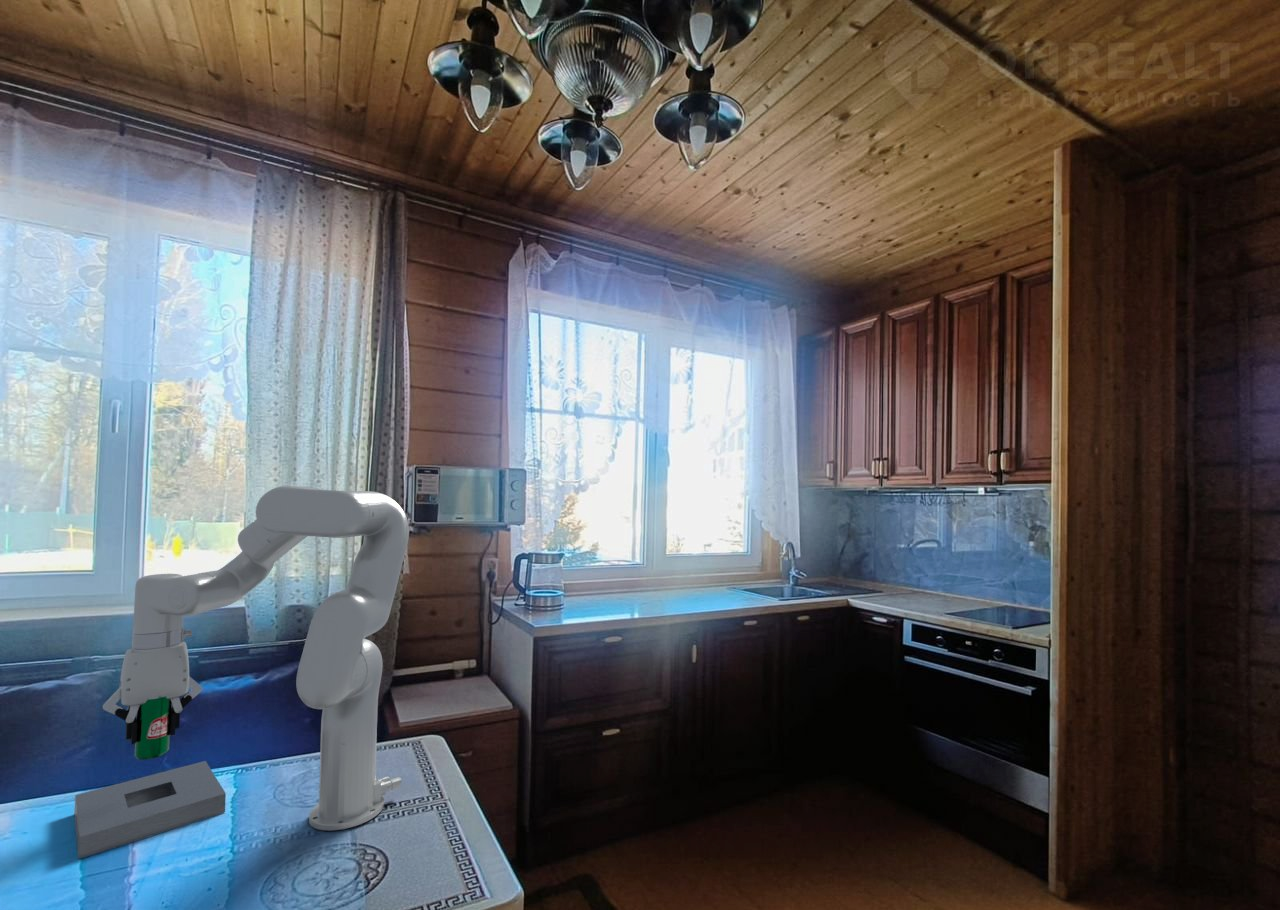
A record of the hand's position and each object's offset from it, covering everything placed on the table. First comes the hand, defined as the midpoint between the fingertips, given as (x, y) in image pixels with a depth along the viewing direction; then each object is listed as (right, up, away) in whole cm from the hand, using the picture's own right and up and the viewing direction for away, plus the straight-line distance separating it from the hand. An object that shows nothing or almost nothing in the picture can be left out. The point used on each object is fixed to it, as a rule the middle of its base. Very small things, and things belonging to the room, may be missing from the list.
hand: (152, 736), depth 112 cm
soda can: (0, -4, 0) cm, 4 cm away
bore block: (0, -14, -1) cm, 14 cm away
